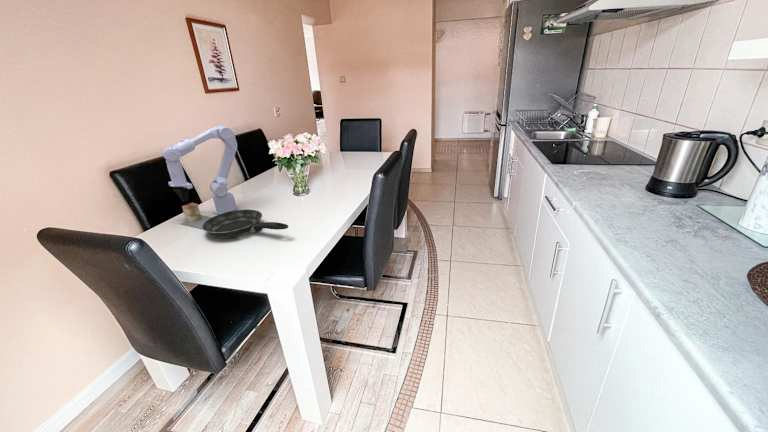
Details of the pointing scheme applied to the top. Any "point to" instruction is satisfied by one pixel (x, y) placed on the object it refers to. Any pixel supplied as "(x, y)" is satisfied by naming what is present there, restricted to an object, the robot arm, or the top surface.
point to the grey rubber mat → (197, 222)
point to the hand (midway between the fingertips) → (185, 201)
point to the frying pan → (238, 223)
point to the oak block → (191, 212)
